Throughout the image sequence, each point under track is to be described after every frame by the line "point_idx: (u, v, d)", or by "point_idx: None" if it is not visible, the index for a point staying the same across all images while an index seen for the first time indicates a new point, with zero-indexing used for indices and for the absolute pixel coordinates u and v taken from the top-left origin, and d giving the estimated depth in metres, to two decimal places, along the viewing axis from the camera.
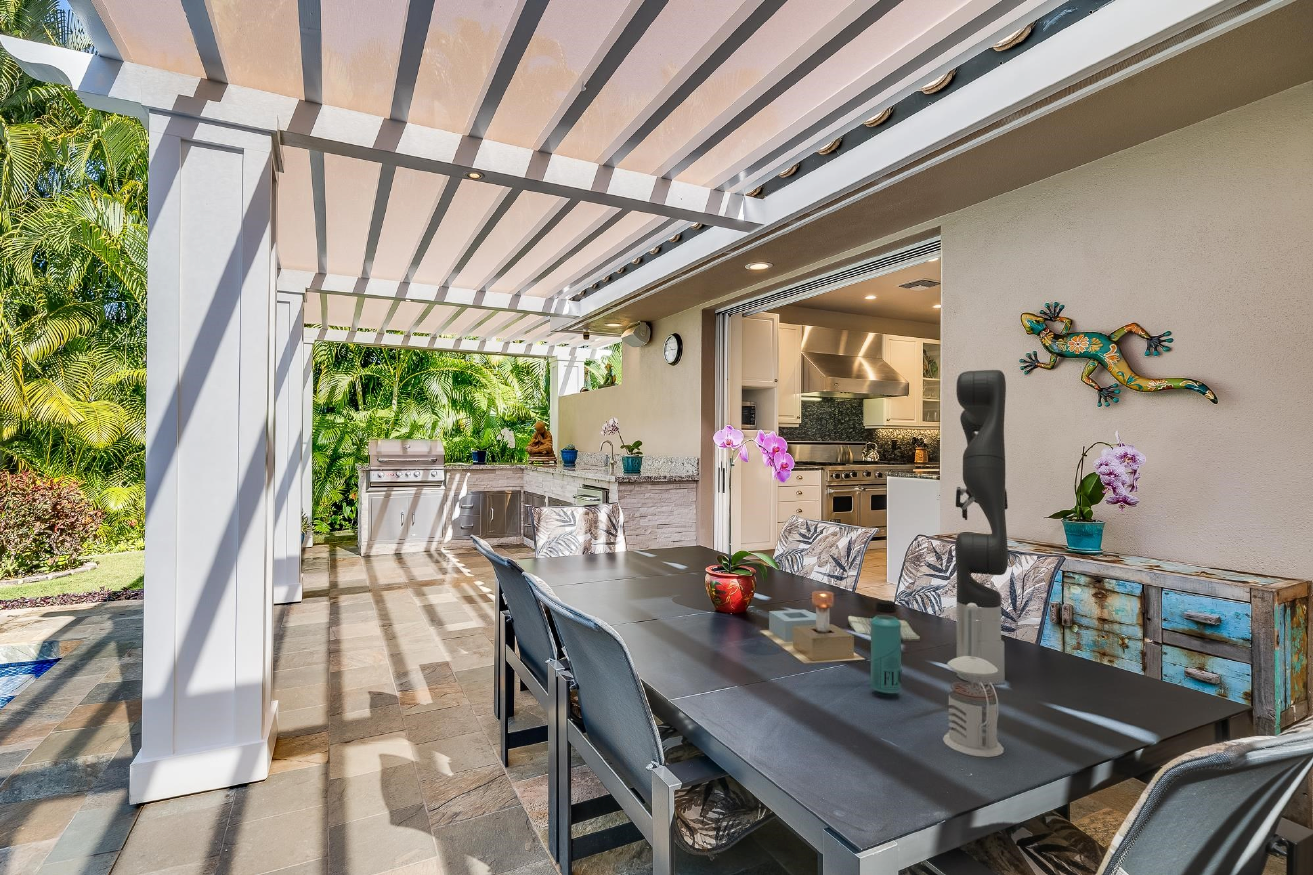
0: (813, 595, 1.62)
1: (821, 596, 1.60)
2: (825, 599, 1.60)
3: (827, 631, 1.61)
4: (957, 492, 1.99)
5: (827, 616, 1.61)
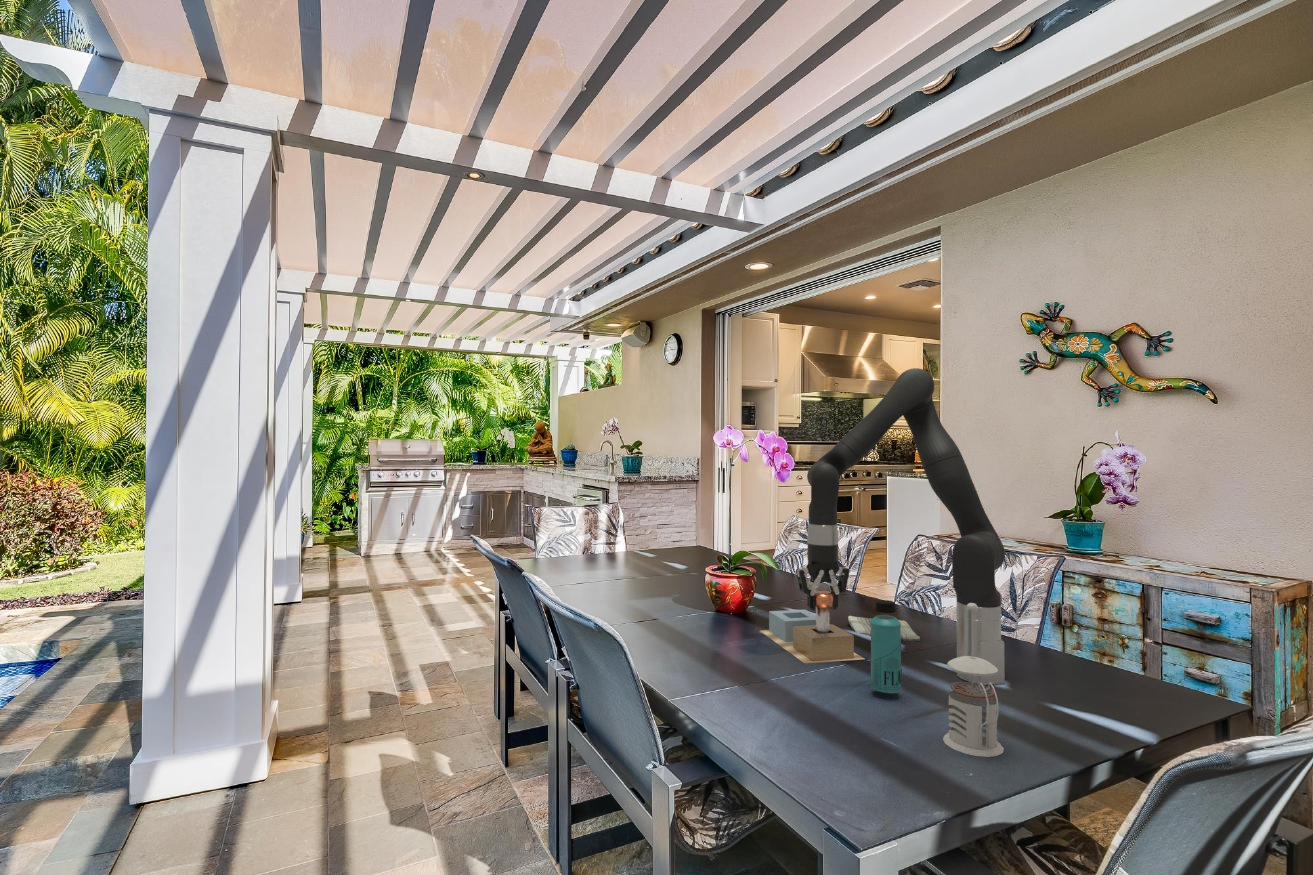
0: None
1: (821, 596, 1.60)
2: (825, 599, 1.60)
3: (827, 631, 1.61)
4: (801, 573, 1.60)
5: (827, 616, 1.61)
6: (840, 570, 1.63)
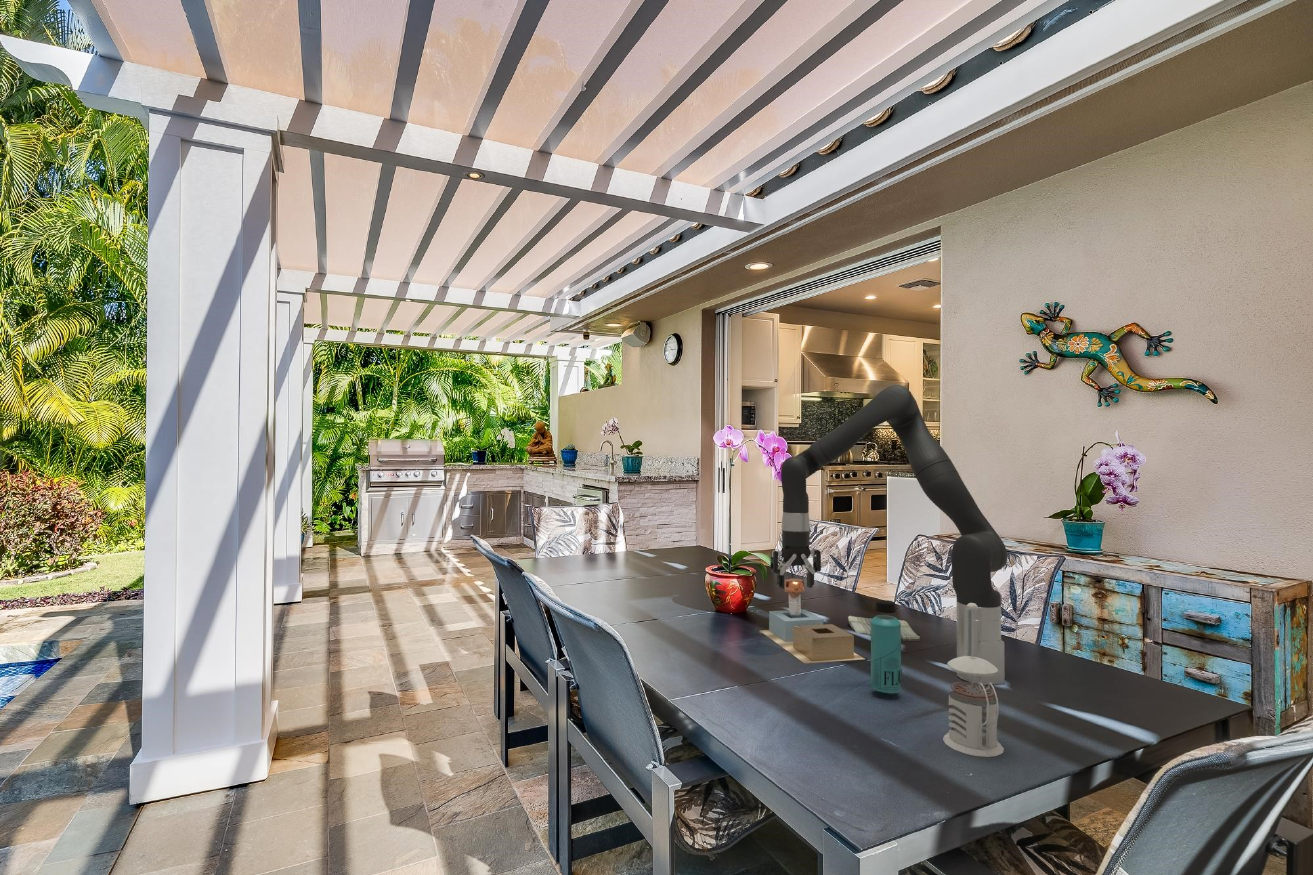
0: (785, 583, 1.77)
1: (792, 583, 1.76)
2: (796, 586, 1.75)
3: (799, 615, 1.77)
4: (775, 554, 1.76)
5: (798, 601, 1.77)
6: (812, 553, 1.79)
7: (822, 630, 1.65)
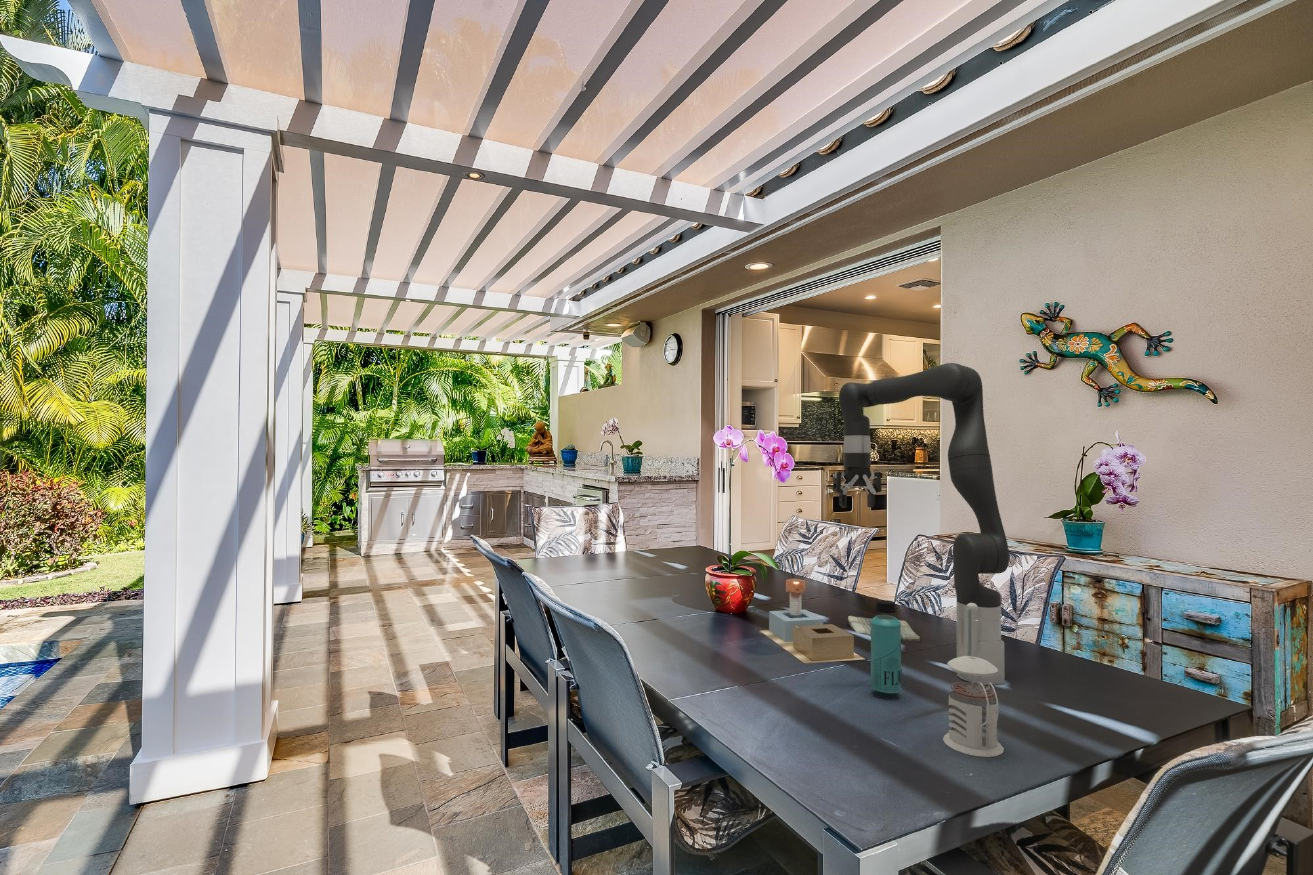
0: (786, 582, 1.78)
1: (793, 583, 1.76)
2: (797, 586, 1.76)
3: (799, 615, 1.77)
4: (838, 474, 1.85)
5: (799, 601, 1.77)
6: (872, 475, 1.88)
7: (822, 630, 1.65)
